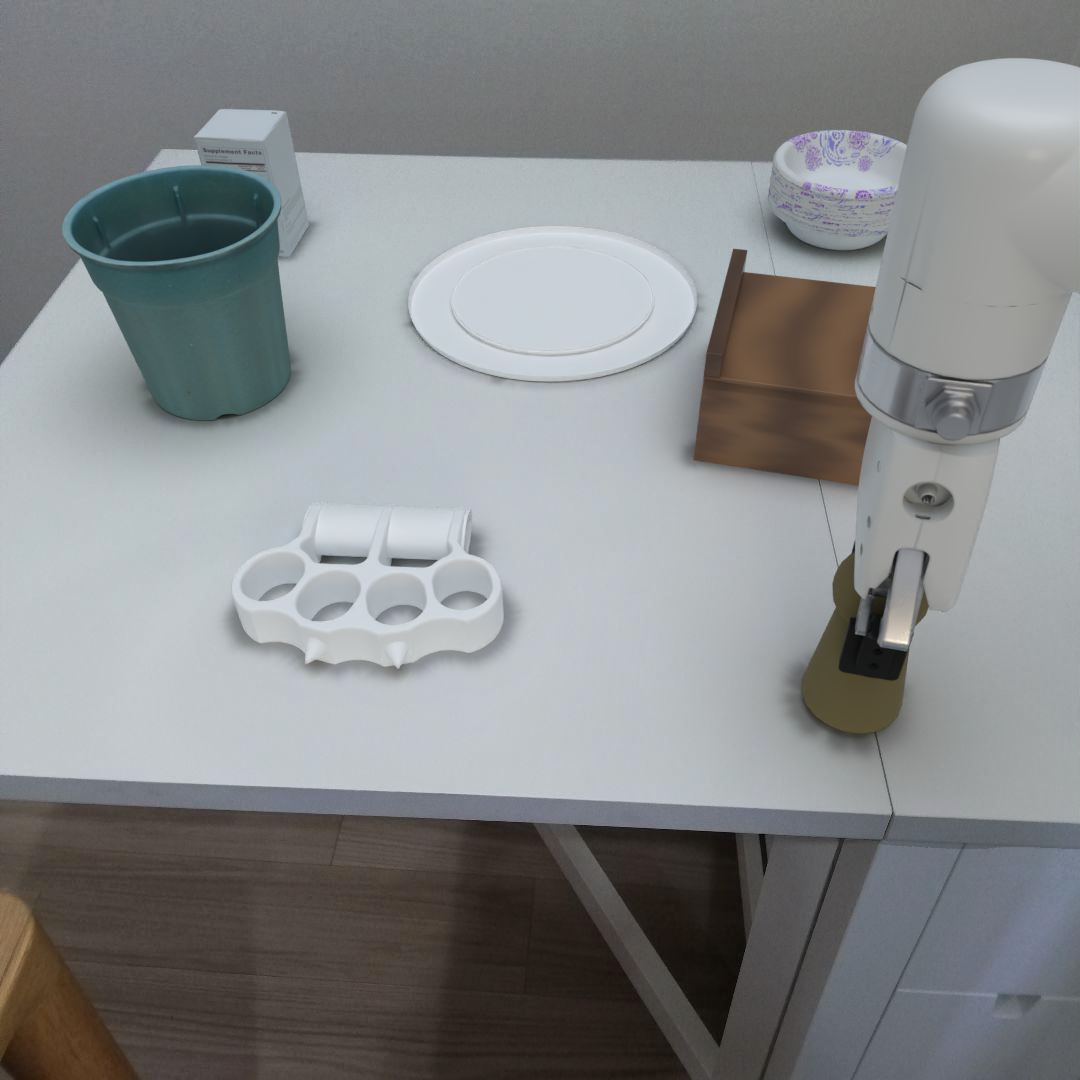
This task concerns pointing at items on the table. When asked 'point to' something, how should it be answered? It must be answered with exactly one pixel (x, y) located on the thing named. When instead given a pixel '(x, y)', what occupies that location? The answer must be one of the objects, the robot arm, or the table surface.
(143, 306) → the flower pot
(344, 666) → the table surface
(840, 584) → the olive pawn figure
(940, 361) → the robot arm
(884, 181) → the paper bowls
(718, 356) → the brown wooden box
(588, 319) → the plate
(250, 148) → the white packaging box
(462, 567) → the knuckle duster
